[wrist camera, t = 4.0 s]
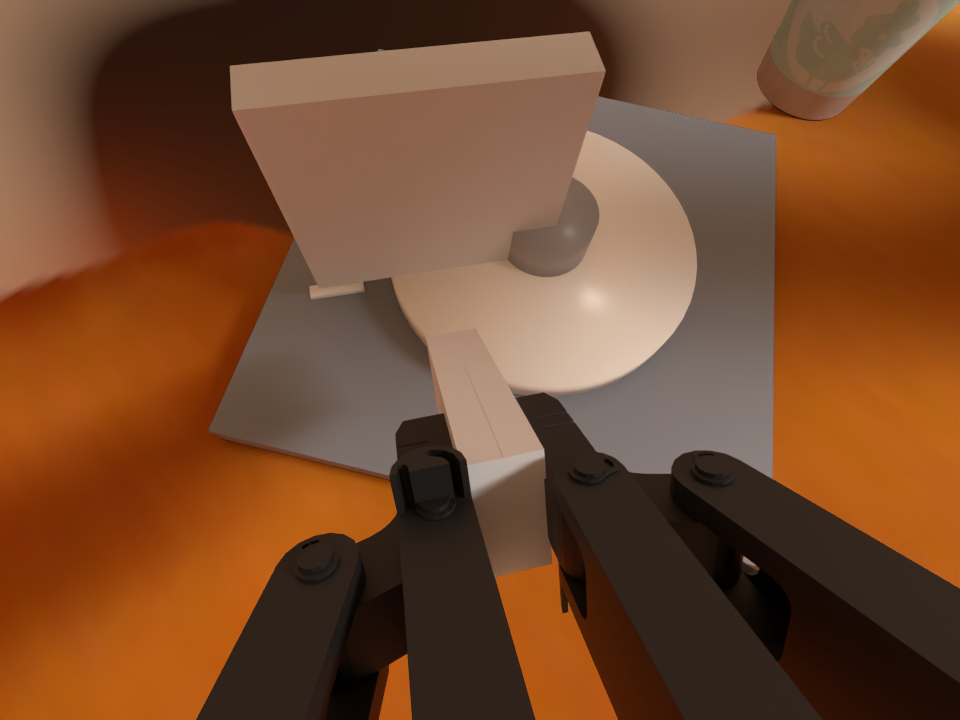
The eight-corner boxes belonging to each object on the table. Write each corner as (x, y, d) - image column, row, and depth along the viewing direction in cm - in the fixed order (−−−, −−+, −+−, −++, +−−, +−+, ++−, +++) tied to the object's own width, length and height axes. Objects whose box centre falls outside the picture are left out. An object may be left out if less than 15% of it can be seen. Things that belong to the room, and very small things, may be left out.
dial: (630, 129, 27) (729, -109, 18) (727, 366, 22) (940, 218, 13) (311, 168, 25) (223, -78, 15) (342, 439, 20) (241, 329, 11)
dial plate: (760, 154, 29) (778, 132, 28) (749, 569, 21) (774, 569, 19) (382, 72, 30) (378, 45, 29) (223, 439, 22) (205, 429, 20)
